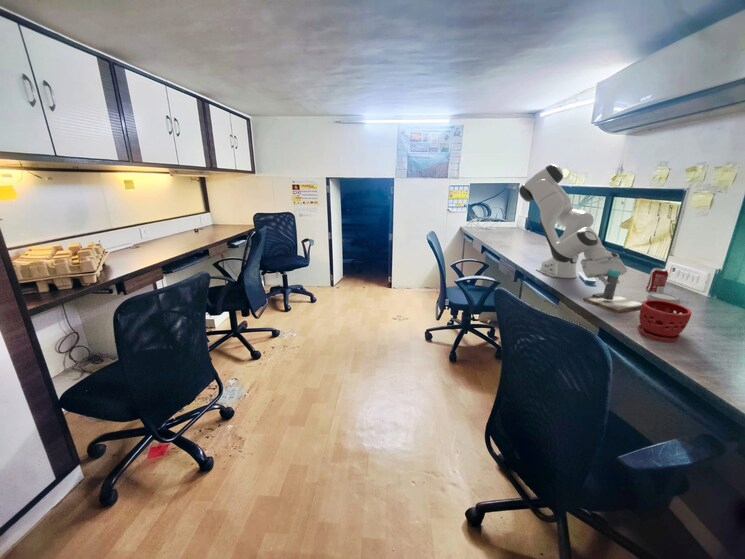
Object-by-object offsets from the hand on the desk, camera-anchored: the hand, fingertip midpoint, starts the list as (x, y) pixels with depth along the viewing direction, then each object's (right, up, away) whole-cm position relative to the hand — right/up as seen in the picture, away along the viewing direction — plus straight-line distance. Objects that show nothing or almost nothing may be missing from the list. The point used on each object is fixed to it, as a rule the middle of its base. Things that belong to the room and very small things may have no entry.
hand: (612, 284), depth 141 cm
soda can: (+36, -4, +19) cm, 41 cm away
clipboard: (+3, -9, +3) cm, 10 cm away
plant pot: (-4, -19, -27) cm, 33 cm away
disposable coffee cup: (+4, -16, -17) cm, 24 cm away
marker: (0, -7, +3) cm, 7 cm away
